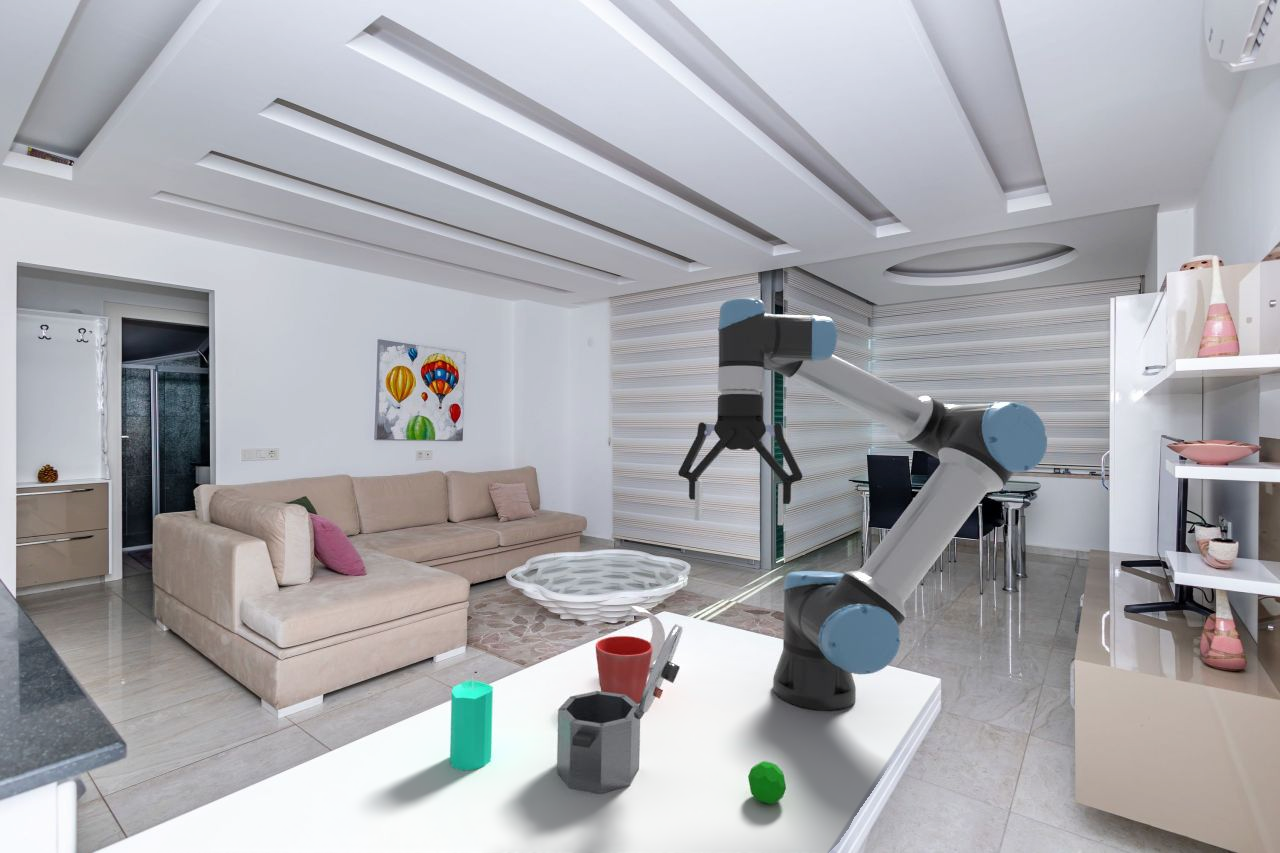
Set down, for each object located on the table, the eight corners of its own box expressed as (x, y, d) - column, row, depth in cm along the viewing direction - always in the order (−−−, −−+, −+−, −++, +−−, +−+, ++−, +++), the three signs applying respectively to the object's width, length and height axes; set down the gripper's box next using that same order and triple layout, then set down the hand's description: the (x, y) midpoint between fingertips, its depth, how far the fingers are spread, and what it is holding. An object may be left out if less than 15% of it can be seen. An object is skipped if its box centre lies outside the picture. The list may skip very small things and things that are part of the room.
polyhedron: (793, 804, 83) (794, 768, 83) (766, 815, 81) (767, 778, 81) (766, 785, 88) (767, 751, 88) (740, 796, 85) (740, 761, 85)
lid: (648, 691, 95) (668, 702, 94) (624, 728, 83) (647, 740, 82) (679, 612, 94) (699, 622, 93) (659, 638, 82) (682, 649, 81)
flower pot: (653, 686, 121) (654, 636, 121) (649, 712, 110) (650, 656, 110) (599, 683, 122) (600, 633, 122) (589, 708, 111) (590, 653, 111)
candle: (447, 753, 94) (449, 673, 94) (487, 746, 97) (489, 668, 97) (452, 773, 89) (454, 689, 89) (494, 765, 91) (496, 683, 91)
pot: (648, 751, 96) (649, 692, 96) (618, 806, 82) (620, 737, 82) (581, 740, 99) (582, 683, 99) (541, 791, 85) (542, 725, 85)
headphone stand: (629, 662, 133) (630, 606, 133) (655, 659, 135) (656, 603, 135) (638, 670, 129) (639, 612, 129) (664, 666, 131) (665, 609, 131)
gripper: (818, 395, 104) (817, 522, 104) (672, 395, 111) (670, 514, 111) (818, 392, 97) (816, 529, 96) (662, 392, 104) (660, 520, 104)
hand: (738, 522), depth 104 cm, fingers open, 13 cm apart
